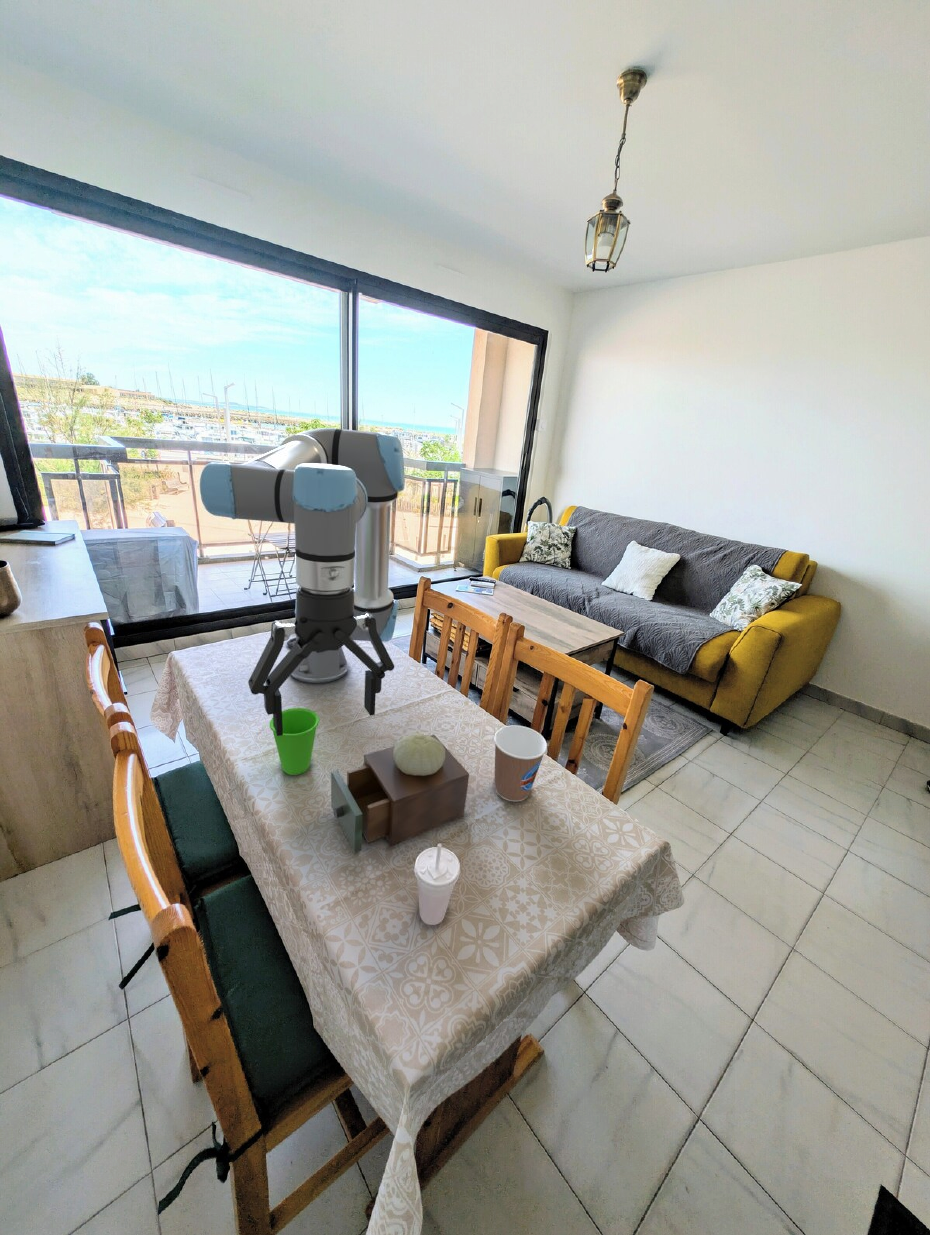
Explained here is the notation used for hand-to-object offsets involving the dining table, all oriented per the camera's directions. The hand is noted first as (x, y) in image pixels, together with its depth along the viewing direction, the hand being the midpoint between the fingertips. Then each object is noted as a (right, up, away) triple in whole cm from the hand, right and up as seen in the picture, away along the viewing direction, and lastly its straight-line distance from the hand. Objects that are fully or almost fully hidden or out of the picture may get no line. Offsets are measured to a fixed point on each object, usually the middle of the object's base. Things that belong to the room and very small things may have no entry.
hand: (326, 720), depth 70 cm
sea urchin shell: (+12, -11, +14) cm, 22 cm away
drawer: (+5, -20, +13) cm, 25 cm away
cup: (-13, -15, +24) cm, 31 cm away
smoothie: (+16, -28, -1) cm, 33 cm away
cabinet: (+11, -20, +18) cm, 29 cm away
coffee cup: (+30, -20, +25) cm, 44 cm away
